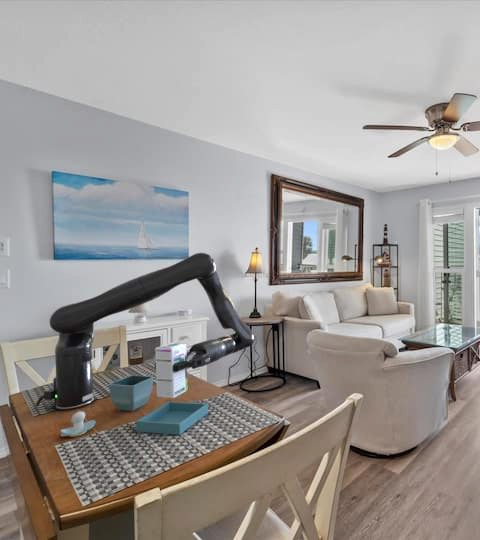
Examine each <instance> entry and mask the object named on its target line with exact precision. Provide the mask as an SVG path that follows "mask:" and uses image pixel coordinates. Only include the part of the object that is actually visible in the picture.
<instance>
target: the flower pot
mask: <svg viewBox="0 0 480 540" xmlns="http://www.w3.org/2000/svg"><path fill="white" fill-rule="evenodd" d="M153 383H154V376H151V375H135V374H132V375H128V376H126V377H123V378H120V379H117V380H115V381H112V382H111V383H108V389H109V395H110V400H111V402H112V404H113V405H114V407H115V408H116V409H118V410H119V411H128V412H133V411H135V410H137V409H139V408H141V407H143V406H145V405H146V404H147V402H148V401H149V398H150V396H151V394H152V390H153Z"/></svg>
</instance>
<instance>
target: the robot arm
mask: <svg viewBox="0 0 480 540" xmlns="http://www.w3.org/2000/svg"><path fill="white" fill-rule="evenodd" d="M193 280H197V281H198V282H199V284H200V285H201V287H202V288H203V290H204V292H205V294H206V295H207V298H208V300H209V302H210V305H211V308H212V311H213V312H214V315H215V317H216V318H217V320H218V322H219V324H220V326H221V328H222V329H223V330H229V329H230V330H233V331H234V332H233V333H232V334H229V335H223V336H219V337H217V338H211V339H208V340H204V341H201V342H198V343H195V344H193V345H192V346H191V347H190V348H189V350H186V352H187V359H186V360H185V361H181V362H179V363H176V364H174V365H173V372H178V371H180V370H183V369H187V370H189V369H190V368H191V369H193V370H195V369H199V368H202V367H205V366H206V365H210V364H212V363H215V362H217V361H219V360H221V359H223V358H226V357H228V356H230V355H232V354H235V353H238V352H240V351H243V350H245V349H247V348H249V347H251V346H252V345H253V344H254V342H255V335H254V332H253V331H252V329H251V328H250V327H249V326H248V325H247V324H246V323H245V322H244V321H243V319H242V318H241V317H240V316H239V313H238V311H237V310H236V307H235V306H234V304H233V302H232V300H231V299H230V297H229V296H228V294H227V292H226V291H225V288H224V286H223V284H222V282H221V280H220V277H219V275H218V271H217V265H216V262H215V259H214V258H213V257H212V256H211V255H210V254H209V253H206V252H196V253H193V254H192V255H189V257H186V258H184V259H182V260H180V261H179V262H176V263H174V264H172V265H170V266H167V267H164V268H161V269H157V270H155V271H151V272H148V273H145V274H142V275H140V276H137V277H135V278H132V279H130V280H127V281H125V282H123V283H121V284H119V285H116V286H114V287H112V288H110V289H108V290H106V291H105V292H102V293H101V294H98V295H97V296H93V297H91V298H88V299H84V300H82V301H79V302H74V303H70V304H67V305H63V306H61V307H59V308H56V310H54V312H52V314H51V316H50V318H49V326H50V328H51V329H52V330H53V331H54V332H57V333H58V339H57V343H56V345H55V347H54V359H55V363H54V364H55V377H54V378H53V381H52V382H53V388H50V389H48V390H45V391H43V395H42V396H40V397H39V398H38V399H37V401H36V403H35V407H39V406H40V404H41V402H42V401H43V400H45V401H52V400H53V407H54V408H56V410H59V411H66V410H67V411H69V410H74V409H78V408H82V407H84V406H88V405H90V404H92V403H93V402H94V401H95V399H94V380H93V379H94V375H93V374H94V373H93V371H94V370H93V344H94V343H93V342H94V339H95V323H97V322H98V321H100V320H102V319H104V318H107V317H109V316H112V315H115V314H119V313H122V312H125V311H129V310H132V309H134V308H136V307H140V306H142V305H144V304H147V303H149V302H151V301H154V300H156V299H158V298H160V297H162V296H163V295H165V294H166V293H168V292H170V291H171V290H173V289H175V288H176V287H178V286H180V285H182V284H185V283H188V282H191V281H193ZM154 369H155V370H156V361H155V363H154Z"/></svg>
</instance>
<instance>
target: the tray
mask: <svg viewBox="0 0 480 540" xmlns="http://www.w3.org/2000/svg"><path fill="white" fill-rule="evenodd" d="M208 414H209V403H202V402H201V403H200V402H187V401H185V402H183V401H167V402H166V403H164V404H163V405H161V406H159V407H158V408H156V409H154V410H152V411H151V412H149V413H147V414H146V415H144V416H142V417H141V418H138V419H137V420H136V421H135V433H149V434H150V433H151V434H163V435H164V434H165V435H176V436H177V435H178V436H180V435H181V434H183V433H184V432H185V431H187V430H188V429H189V428H191V427H192V426H193V425H194V424H196V423H197V422H199V421H200V420H201V419H203V418H204V417H205V416H206V415H208Z"/></svg>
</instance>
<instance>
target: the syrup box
mask: <svg viewBox="0 0 480 540" xmlns="http://www.w3.org/2000/svg"><path fill="white" fill-rule="evenodd" d="M154 350H155V362H156V369H155V376H156V380H155V381H156V396H157V397H158V398H165V399H175V398H176V397H178V396H180V395H182V394H184V393H186V392H188V390H189V389H188V369H183V370H180V371H178V372H173V365H174V364H176V363H179V362H181V361H185V360H186V359H187V352H186V351H187V343H184V342H169V343H167V344H164V345H160V346H156V347H155V349H154Z"/></svg>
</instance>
